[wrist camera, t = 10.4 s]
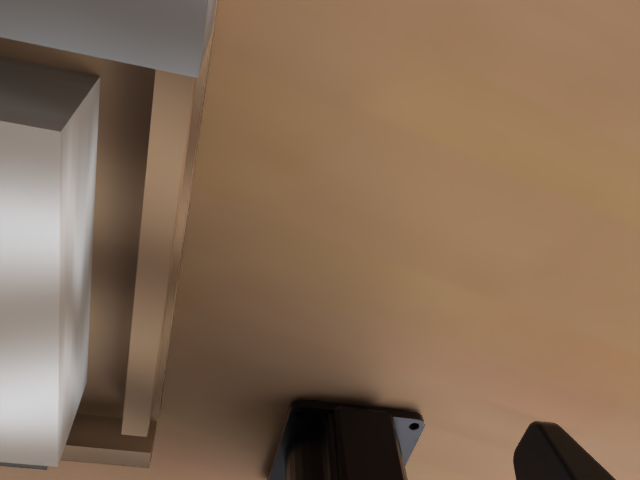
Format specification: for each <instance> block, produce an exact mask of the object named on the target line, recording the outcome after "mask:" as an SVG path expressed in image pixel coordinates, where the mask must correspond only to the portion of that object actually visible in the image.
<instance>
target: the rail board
mask: <svg viewBox="0 0 640 480" xmlns="http://www.w3.org/2000/svg"><path fill="white" fill-rule="evenodd" d="M217 5H218V0H0V466H7V467H19V468H31V469H43V470H47V467H48V466H51V467H58V465H59V463H60V460H64V461H75V462H87V463H98V464H110V465H121V466H132V467H144V468H149V466H150V461H151V455H152V450H153V445H154V440H155V435H156V430H157V425H158V419H159V414H160V407H161V400H162V393H163V386H164V379H165V372H166V365H167V358H168V351H169V343H170V336H171V329H172V322H173V315H174V308H175V301H176V294H177V287H178V280H179V273H180V266H181V259H182V252H183V245H184V238H185V231H186V224H187V217H188V209H189V202H190V195H191V188H192V181H193V174H194V167H195V160H196V153H197V146H198V139H199V132H200V125H201V118H202V111H203V104H204V97H205V90H206V83H207V75H208V68H209V61H210V54H211V47H212V40H213V33H214V26H215V19H216V12H217Z"/></svg>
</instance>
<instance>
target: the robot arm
mask: <svg viewBox="0 0 640 480" xmlns="http://www.w3.org/2000/svg"><path fill="white" fill-rule="evenodd" d="M300 410H302V411H300ZM424 426H425V424H424V420H423V417H422V415H420V414H418V413H413V412H404V411H396V410H387V409H378V408H369V407H361V406H352V405H343V404H334V403H325V402H317V401H308V400H297V401H294V402H293V403H291V405H290V407H289V410H288V413H287V417H286V420H285V423H284V426H283V429H282V433H281V436H280V439H279V442H278V445H277V449H276V452H275V455H274V458H273V462H272V465H271V468H270V471H269V474H268V478H267V480H407V475H406V470H405V465H406V463H407V461H408V459H409V457H410V455H411V453H412V451H413V449H414V447H415V445H416V443H417V441H418V439H419V437H420V435H421V433H422V431H423V429H424ZM513 462H514V469H515V475H516V480H616V479H615V478H614V477H613V476H612V475H610V474H609V473H608V472H607V471H606V470H605V469H604V468H603V467H602V466H601V465H600V464H599V463H598V462H597V461H596V460H595V459H594V458H593V457H592V456H591V455H590V454H588V453H587V452H586V451H585V450H584V449H583V448H582V447H581V446H580V445H579V444H578V443H577V442H576V441H575V440H574V439H573V438H572V437H571V436H570V435H569V434H568V433H566V432H565V431H564V430H563V429H562V428H561V427H560V426H559V425H557V424H555V423H551V422H540V421H535V422H533V423H531V424H530V425H529V426H528V428H527V430H526V432H525V433H524V435H523V437H522V439H521V440H520V442H519V444H518V446H517V447H516V449H515V452H514V458H513Z"/></svg>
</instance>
